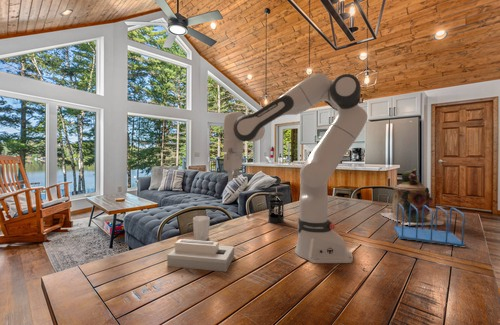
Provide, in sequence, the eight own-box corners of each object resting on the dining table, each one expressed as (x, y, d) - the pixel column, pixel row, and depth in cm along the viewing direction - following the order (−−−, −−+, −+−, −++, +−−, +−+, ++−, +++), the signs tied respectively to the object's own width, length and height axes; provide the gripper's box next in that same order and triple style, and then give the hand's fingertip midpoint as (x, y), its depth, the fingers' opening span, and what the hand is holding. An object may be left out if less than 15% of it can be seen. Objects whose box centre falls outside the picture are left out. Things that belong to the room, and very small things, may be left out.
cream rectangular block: (218, 256, 93) (218, 241, 93) (215, 261, 89) (215, 245, 89) (179, 253, 96) (179, 238, 96) (174, 257, 92) (174, 242, 92)
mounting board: (234, 256, 96) (234, 246, 96) (226, 271, 85) (226, 259, 84) (182, 252, 100) (182, 242, 100) (167, 266, 88) (167, 254, 88)
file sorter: (399, 240, 117) (401, 208, 116) (394, 229, 133) (395, 201, 132) (465, 248, 107) (467, 214, 106) (451, 235, 123) (452, 205, 122)
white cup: (206, 242, 111) (206, 220, 111) (190, 240, 113) (190, 219, 112) (212, 236, 119) (212, 216, 119) (197, 235, 121) (197, 215, 120)
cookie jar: (378, 215, 161) (380, 167, 159) (412, 214, 163) (414, 167, 162) (406, 227, 136) (409, 170, 135) (446, 226, 139) (449, 170, 137)
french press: (287, 223, 142) (287, 183, 141) (272, 224, 139) (273, 184, 138) (278, 217, 153) (278, 181, 152) (264, 219, 150) (265, 182, 149)
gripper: (234, 148, 98) (234, 182, 99) (244, 148, 118) (244, 177, 119) (219, 148, 99) (219, 182, 100) (232, 148, 120) (231, 176, 120)
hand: (233, 179), depth 110 cm, fingers open, 8 cm apart
